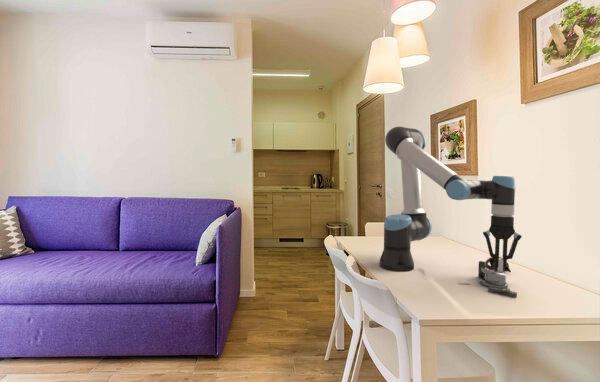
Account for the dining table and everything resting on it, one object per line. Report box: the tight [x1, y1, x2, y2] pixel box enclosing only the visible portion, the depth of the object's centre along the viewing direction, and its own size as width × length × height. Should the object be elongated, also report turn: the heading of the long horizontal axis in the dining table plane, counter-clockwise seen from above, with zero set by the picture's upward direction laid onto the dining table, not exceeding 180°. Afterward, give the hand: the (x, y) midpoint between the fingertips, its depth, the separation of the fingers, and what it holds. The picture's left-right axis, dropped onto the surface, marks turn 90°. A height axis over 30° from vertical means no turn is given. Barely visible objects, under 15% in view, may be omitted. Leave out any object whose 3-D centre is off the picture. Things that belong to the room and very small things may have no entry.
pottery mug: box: [485, 256, 512, 273], centre depth 139 cm, size 12×10×8 cm
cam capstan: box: [477, 260, 509, 290], centre depth 122 cm, size 14×9×6 cm, turn 176°
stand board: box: [457, 282, 518, 299], centre depth 119 cm, size 20×19×4 cm
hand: (500, 275), depth 126 cm, fingers closed
